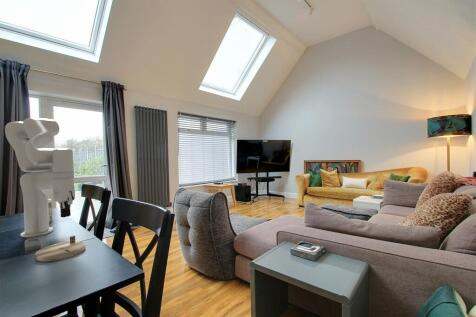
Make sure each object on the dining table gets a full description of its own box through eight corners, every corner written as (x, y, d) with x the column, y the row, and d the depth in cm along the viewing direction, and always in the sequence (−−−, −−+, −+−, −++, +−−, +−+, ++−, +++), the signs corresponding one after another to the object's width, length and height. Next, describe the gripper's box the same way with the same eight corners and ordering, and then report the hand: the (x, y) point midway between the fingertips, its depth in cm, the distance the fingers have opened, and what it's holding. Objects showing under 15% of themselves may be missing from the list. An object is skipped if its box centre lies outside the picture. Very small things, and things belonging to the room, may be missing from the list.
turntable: (27, 255, 90) (27, 245, 90) (73, 241, 104) (72, 233, 104) (46, 265, 82) (46, 254, 82) (92, 248, 96) (92, 239, 96)
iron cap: (23, 251, 96) (22, 239, 96) (37, 246, 100) (37, 235, 100) (28, 253, 94) (27, 241, 93) (43, 248, 98) (42, 237, 98)
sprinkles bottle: (53, 220, 141) (52, 198, 140) (51, 222, 137) (50, 199, 136) (44, 221, 139) (43, 199, 138) (41, 223, 135) (40, 200, 134)
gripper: (45, 176, 103) (47, 217, 103) (62, 177, 95) (64, 220, 96) (64, 175, 109) (66, 213, 110) (81, 175, 102) (83, 216, 102)
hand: (65, 216), depth 103 cm, fingers closed
